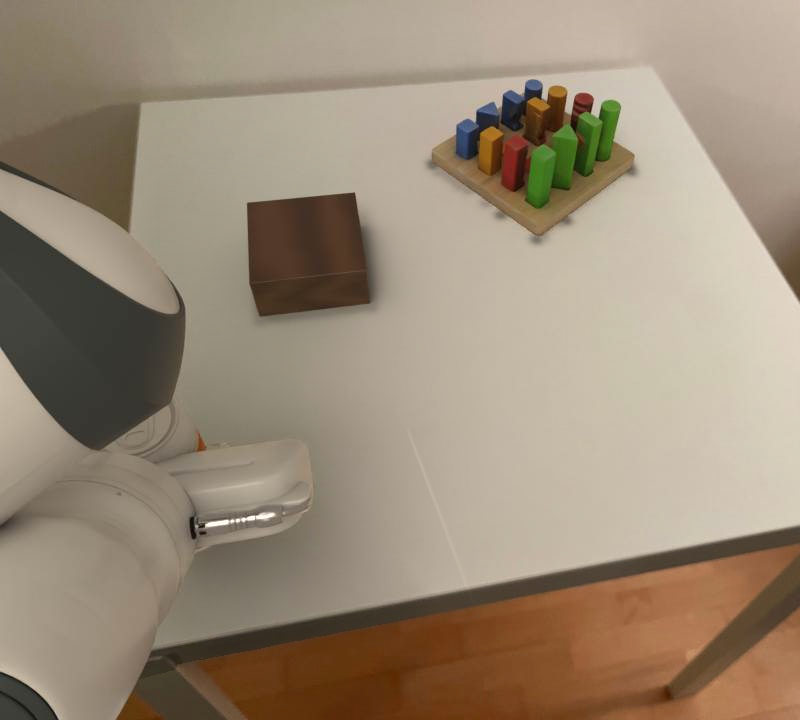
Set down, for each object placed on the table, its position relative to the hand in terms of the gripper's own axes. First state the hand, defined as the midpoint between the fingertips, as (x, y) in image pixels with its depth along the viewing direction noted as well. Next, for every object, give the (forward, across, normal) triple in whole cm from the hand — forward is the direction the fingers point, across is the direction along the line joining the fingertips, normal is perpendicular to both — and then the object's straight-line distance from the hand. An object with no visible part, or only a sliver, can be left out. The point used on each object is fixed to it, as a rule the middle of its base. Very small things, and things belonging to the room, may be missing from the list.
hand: (163, 462), depth 50 cm
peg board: (+37, -37, -20) cm, 56 cm away
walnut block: (+28, -10, -11) cm, 32 cm away
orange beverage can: (+6, 0, +6) cm, 9 cm away
